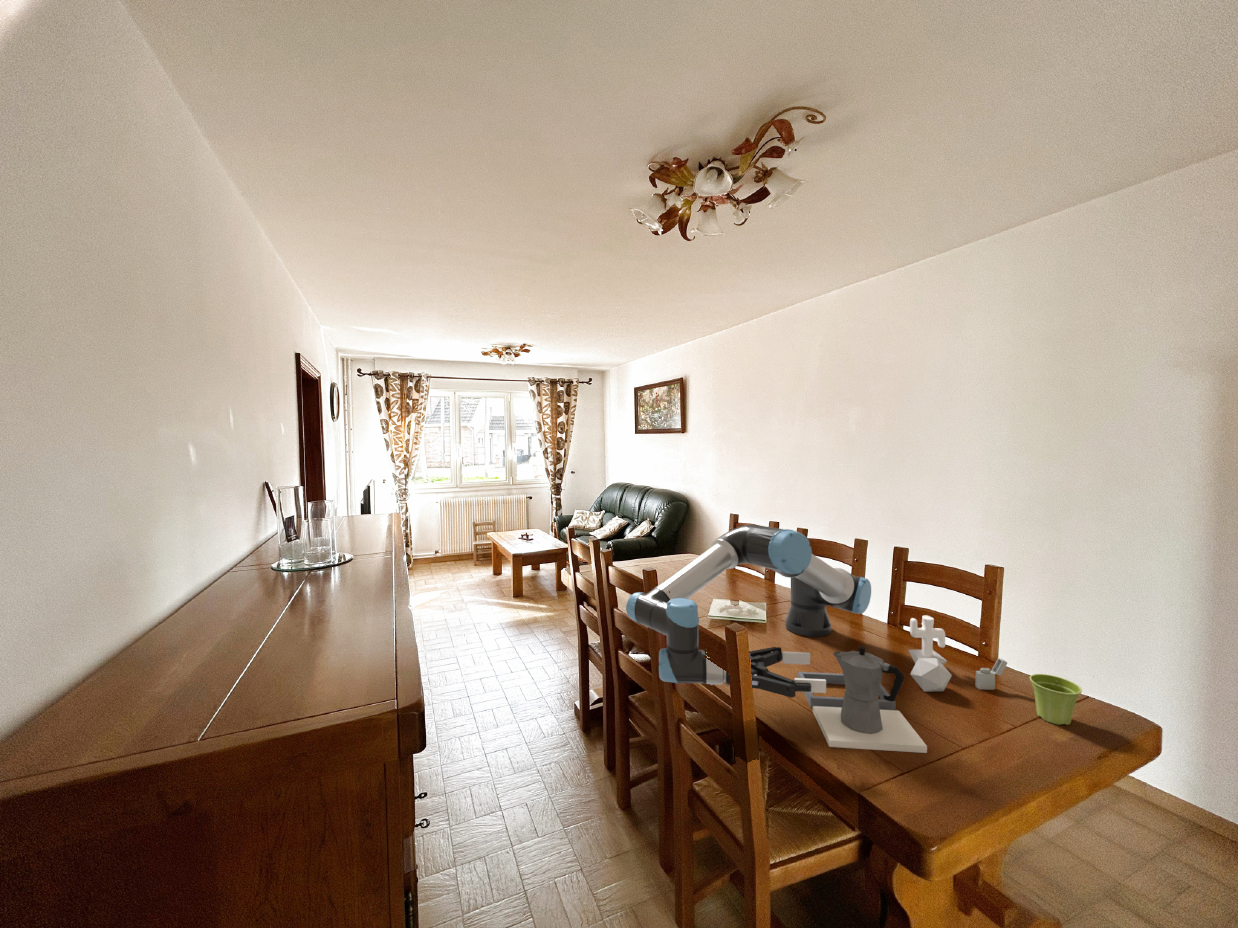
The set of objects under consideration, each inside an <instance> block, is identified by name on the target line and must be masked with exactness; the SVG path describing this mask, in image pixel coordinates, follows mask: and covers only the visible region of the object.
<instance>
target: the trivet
mask: <svg viewBox="0 0 1238 928" xmlns="http://www.w3.org/2000/svg"><path fill="white" fill-rule="evenodd" d="M841 710H842V708H841V707H822V706H813V708H812V713H813V715H814V718H815V719H816V722H817V725H818V726H819V728H820V730H821V732H822V734H823V736H824V739H825V741H826V743H827V745H828V747H830V748H842V749H843V748H844V749H860V750H875V751H886V752H887V751H889V752H891V751H892V752H904V753H905V752H906V753H921V754H927V753H928V746H927V744H926V743H925V742H924V740H923V739H922V738H921V736H920V735H919V734H918V733H917V731H916V730H915V729H914V727H912V725H911V724H910V722H909V721H908V720H907V719H906V718H905V716H904V715H903V713H902V712H901V711H900V710H897V709H895V710H880V715H881V721H882V728H883V730H881V731H879V732H877V733H872V734H868V733H861V732H857V731H854V730H852V729H850V728H848V727H847V726H845V725H844V724H843V723H842V722H841Z"/></svg>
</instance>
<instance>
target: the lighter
mask: <svg viewBox="0 0 1238 928" xmlns="http://www.w3.org/2000/svg"><path fill="white" fill-rule="evenodd" d="M1007 665H1008V662H1007V661H1006V660H1004V659H1002V658H1000V657H998V658H997V660H996V662H995V663H994V665H993V666H992V669H990V668H989V667H981V668H980V669H979V670H975V681H974V682H975V685H974V686H975V688H977V689H978V690H989V691H991V690H995V689H996V688H995V687H996V675H997V676H999V677H1000V676H1002V674H1003V672H1004V670H1005V669H1006V666H1007Z"/></svg>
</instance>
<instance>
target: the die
mask: <svg viewBox="0 0 1238 928" xmlns="http://www.w3.org/2000/svg"><path fill="white" fill-rule="evenodd" d="M909 675H910V676H911V677H912V678H913V680H914V681H915V682H916V683H917V684H918V686H919V687H920V689H922V691H923V692H925V693H927V692H928V693H929V692H930V693H931V692H933V693H934V692H944V691H945V689H946V688H947V685H948V684H949V682H950V680H951V678H952V676H953V675H952V674H951V673H950V672H949V670H948V669H947V668H946V667H945V666H944V665H942V664H941V662H940V661H939V660H938V659H937V658H922V659H918V660H917V662H916V664H915V663H914V666H913V668H912V670H911V672H910V674H909Z"/></svg>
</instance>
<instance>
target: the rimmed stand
mask: <svg viewBox="0 0 1238 928" xmlns="http://www.w3.org/2000/svg"><path fill="white" fill-rule="evenodd" d="M797 678H806V679H825V680H826V685H828V684H829V685H830V684H831V685H845V683H844V675H843V673H836V672H834V673H833V672H832V673H831V672H811V671H798V672H797ZM803 694H804V696H805V698H806V701H807V703H808V705H809V707H810V708H812V709H813V706H822V707H841V708H842V705H843V700H844V696H843V697H842V696H841V697H839V696H838V697H837V696H820V695H819V696H818V695H814V692H803ZM884 695H885V696H890V692H888V691H887V690H886V688H885V687H884V686H883V685H882V683H881V684H880V690H879V693H878V697H879V698H878V702H879V708H880V710H896V703H897V702H896V700H895V701H894V702H891V701H887V700H885V699H884Z"/></svg>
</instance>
